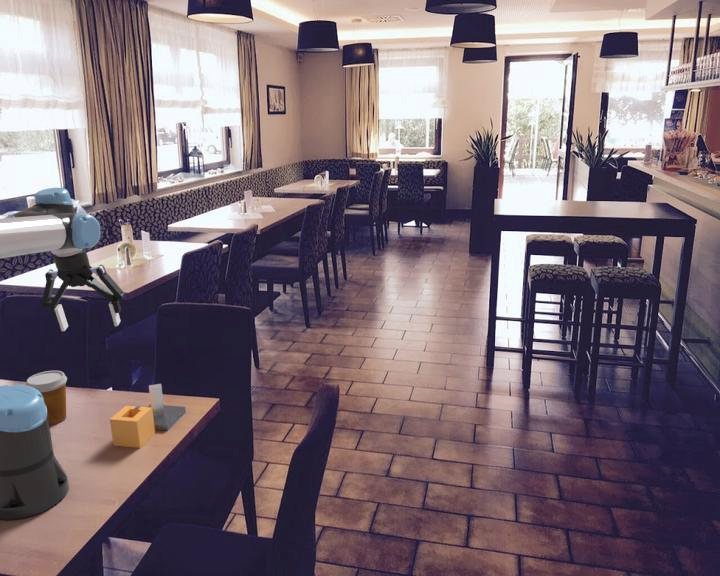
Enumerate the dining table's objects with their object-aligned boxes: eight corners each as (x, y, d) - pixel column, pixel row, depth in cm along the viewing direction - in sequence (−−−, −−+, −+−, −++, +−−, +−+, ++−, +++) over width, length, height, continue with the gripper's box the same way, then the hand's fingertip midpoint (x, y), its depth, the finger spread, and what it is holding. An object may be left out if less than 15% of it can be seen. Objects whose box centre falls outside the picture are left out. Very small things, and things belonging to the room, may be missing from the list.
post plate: (167, 430, 150) (163, 396, 147) (131, 427, 152) (126, 393, 149) (185, 411, 159) (182, 379, 157) (151, 409, 161) (147, 376, 159)
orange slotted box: (140, 447, 142) (136, 420, 140) (113, 445, 144) (109, 418, 142) (155, 433, 149) (152, 407, 147) (129, 430, 150) (125, 405, 148)
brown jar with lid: (80, 412, 160) (74, 370, 157) (57, 430, 151) (50, 386, 148) (49, 409, 162) (41, 368, 158) (24, 427, 153) (15, 384, 149)
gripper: (124, 240, 151) (143, 314, 160) (23, 250, 150) (48, 323, 159) (115, 252, 144) (135, 328, 154) (10, 261, 143) (37, 338, 153)
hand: (91, 326), depth 157 cm, fingers open, 13 cm apart
